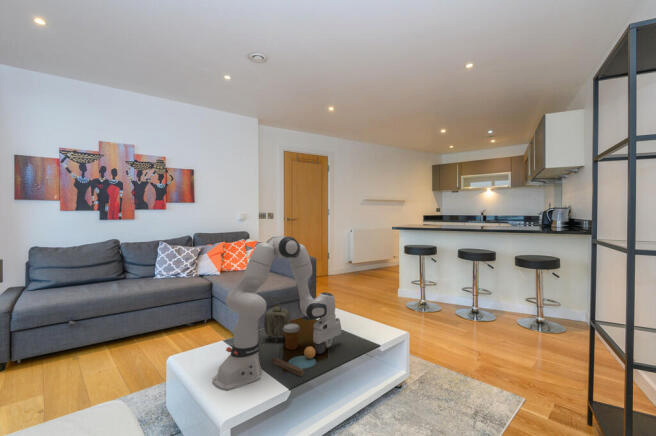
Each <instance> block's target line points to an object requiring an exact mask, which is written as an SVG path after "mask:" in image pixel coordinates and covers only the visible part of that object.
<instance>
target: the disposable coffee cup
mask: <svg viewBox="0 0 656 436" xmlns="http://www.w3.org/2000/svg"><path fill="white" fill-rule="evenodd" d="M300 329H301V328H300V325H299V324H297V323H290V324H287V325H285V326H284V328H283V330H284V336H283V337H284V340H285V341H284V343H285V348H286V349H287V350H296V349H297V348H298V344H299V343H298V341H299V333H300Z"/></svg>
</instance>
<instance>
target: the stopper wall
mask: <svg viewBox="0 0 656 436" xmlns="http://www.w3.org/2000/svg"><path fill="white" fill-rule="evenodd" d="M272 361H273V362H272V363H273V365H275V366H276V367H279V368H281V369H283V370H286V371H287V372H290V373H292V374H294V375H296V376H298V377H303V376H304V375H305V374H304V373H305V372H304V369H301V368H298V367H296V366H294V365H292V364H290V363H288V362H287V361H285V360H283V359H282V358H279V357H274V358H273V360H272Z"/></svg>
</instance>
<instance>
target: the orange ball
mask: <svg viewBox="0 0 656 436" xmlns="http://www.w3.org/2000/svg"><path fill="white" fill-rule="evenodd" d="M303 354H304V355H303V356H305V357H306V358H308V359H311V358H314V357H315V356H316V354H317V353H316V352H315V349H314V346H306V347H305V348H304V351H303Z"/></svg>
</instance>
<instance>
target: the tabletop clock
mask: <svg viewBox="0 0 656 436" xmlns="http://www.w3.org/2000/svg"><path fill="white" fill-rule="evenodd" d="M273 301H280V302H281V303H276V304H275V303H273ZM270 303H271V305H273V308H271V309H269V310H268V311H267V312H265V313H264V319H263V327H264V328H263V329H264V333H265V335H266V336H268V339H271V338H272V337H275V339H274V341H275V342H276V343H277V342H278V341H279V339H278V337H285V336H284V330H283V328H284V326H285V325H287V324H291V321H292V320H291V313H290V311H289V310H288V309H286V308H281V306H282V305H283V303H284V302H283V300H282V299H280V298H273V299H272V300H271V301H270Z"/></svg>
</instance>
